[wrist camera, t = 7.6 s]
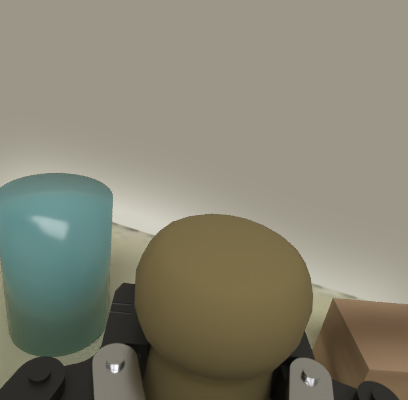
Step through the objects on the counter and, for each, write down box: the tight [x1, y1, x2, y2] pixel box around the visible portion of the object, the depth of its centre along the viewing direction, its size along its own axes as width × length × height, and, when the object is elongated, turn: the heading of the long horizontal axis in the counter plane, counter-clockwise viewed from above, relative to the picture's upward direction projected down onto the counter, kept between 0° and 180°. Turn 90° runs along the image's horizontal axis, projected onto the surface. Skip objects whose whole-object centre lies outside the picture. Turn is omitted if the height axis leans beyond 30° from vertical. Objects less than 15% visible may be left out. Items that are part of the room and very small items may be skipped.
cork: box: [135, 214, 313, 400], centre depth 13 cm, size 6×6×11 cm
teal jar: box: [0, 173, 113, 357], centre depth 22 cm, size 6×6×9 cm
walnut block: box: [313, 298, 408, 400], centre depth 22 cm, size 5×5×5 cm
